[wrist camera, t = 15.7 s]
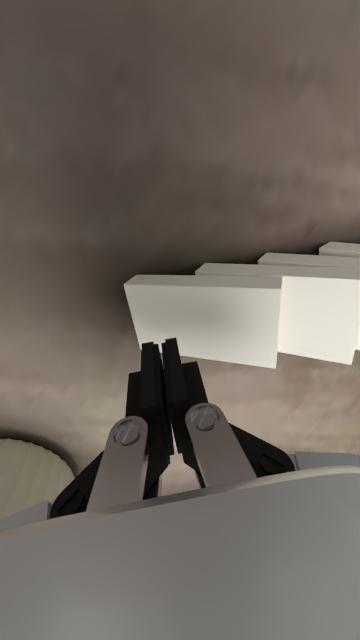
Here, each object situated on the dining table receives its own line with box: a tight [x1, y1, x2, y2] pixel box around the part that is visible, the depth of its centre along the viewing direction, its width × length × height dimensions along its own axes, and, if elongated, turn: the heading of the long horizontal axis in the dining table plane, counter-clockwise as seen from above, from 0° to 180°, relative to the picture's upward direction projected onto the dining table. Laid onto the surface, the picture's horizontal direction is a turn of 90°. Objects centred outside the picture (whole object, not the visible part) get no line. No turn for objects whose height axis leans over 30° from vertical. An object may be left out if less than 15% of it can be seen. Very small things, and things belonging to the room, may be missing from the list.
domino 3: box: [258, 253, 360, 350], centre depth 16 cm, size 5×2×9 cm
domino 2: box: [195, 263, 360, 365], centre depth 16 cm, size 5×2×9 cm
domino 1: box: [123, 275, 283, 369], centre depth 16 cm, size 5×2×9 cm
